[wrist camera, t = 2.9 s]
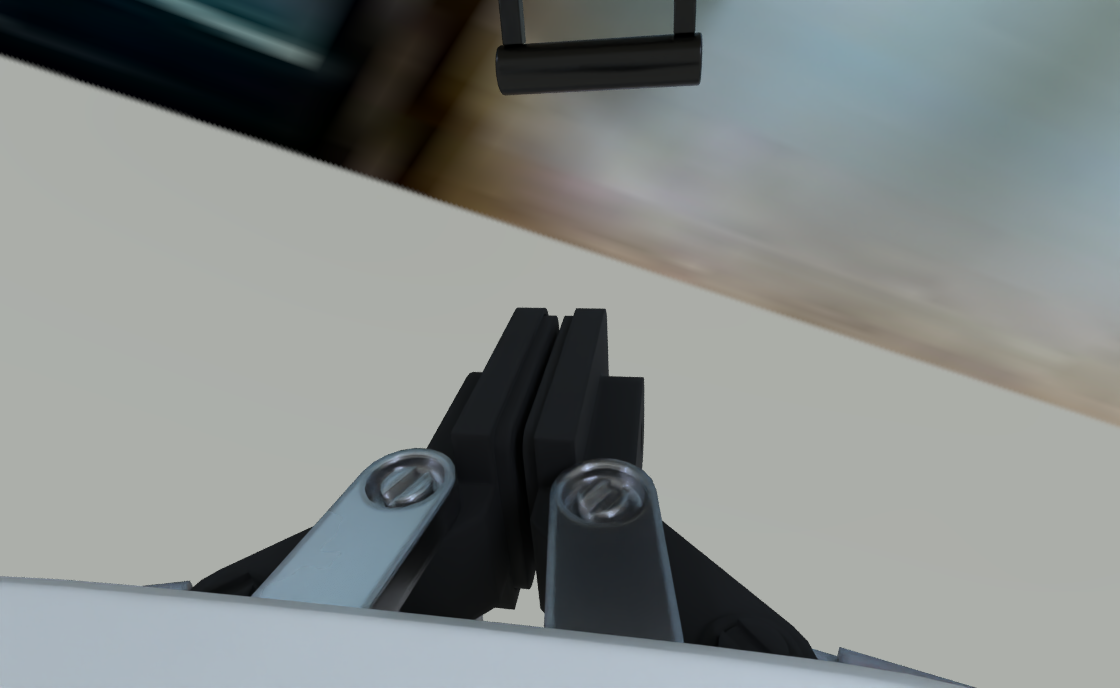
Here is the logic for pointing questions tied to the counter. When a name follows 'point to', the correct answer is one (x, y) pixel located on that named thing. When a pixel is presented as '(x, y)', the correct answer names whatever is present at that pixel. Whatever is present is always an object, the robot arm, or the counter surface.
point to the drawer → (597, 58)
